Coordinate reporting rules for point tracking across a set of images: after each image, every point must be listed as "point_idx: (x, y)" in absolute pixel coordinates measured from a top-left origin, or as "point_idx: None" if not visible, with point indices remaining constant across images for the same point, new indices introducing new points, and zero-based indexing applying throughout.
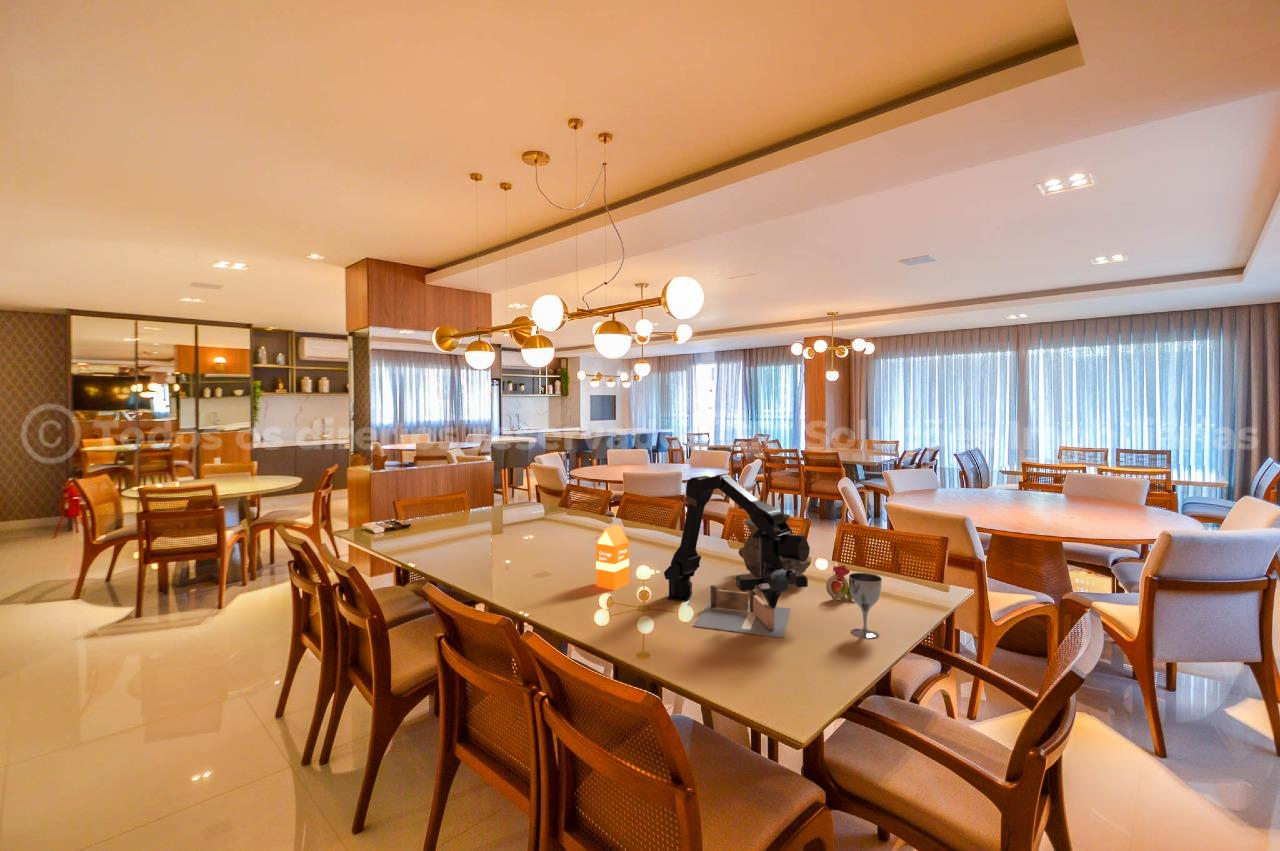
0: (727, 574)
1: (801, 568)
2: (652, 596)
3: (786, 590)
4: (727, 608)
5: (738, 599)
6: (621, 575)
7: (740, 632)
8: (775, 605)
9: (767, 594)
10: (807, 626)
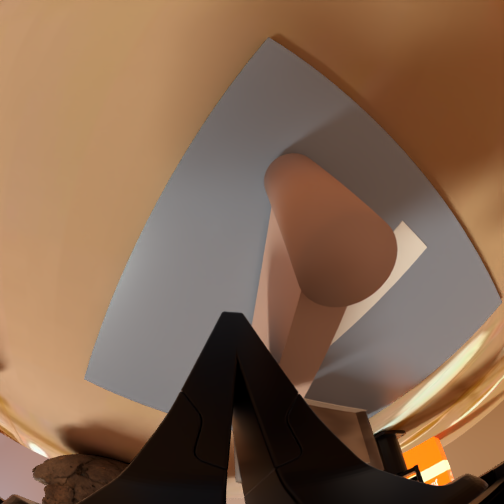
0: None
1: (48, 471)
2: (413, 433)
3: (7, 500)
4: (331, 410)
5: None
6: (420, 462)
7: (449, 209)
8: (207, 354)
9: (359, 475)
10: (35, 200)
